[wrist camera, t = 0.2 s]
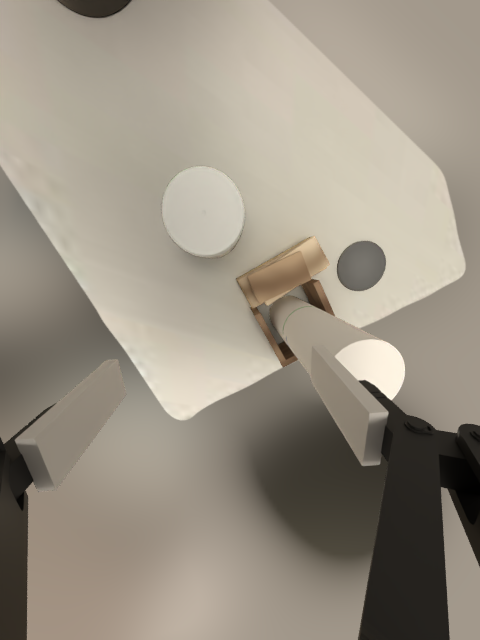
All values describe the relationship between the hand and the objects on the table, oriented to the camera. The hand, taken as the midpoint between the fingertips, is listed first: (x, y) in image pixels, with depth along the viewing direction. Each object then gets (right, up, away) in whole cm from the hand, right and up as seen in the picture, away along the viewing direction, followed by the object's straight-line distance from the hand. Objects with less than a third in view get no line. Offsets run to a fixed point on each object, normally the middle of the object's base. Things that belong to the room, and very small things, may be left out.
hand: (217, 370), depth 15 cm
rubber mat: (+24, +13, +27) cm, 38 cm away
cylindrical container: (+11, +5, +28) cm, 31 cm away
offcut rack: (+11, +8, +27) cm, 31 cm away
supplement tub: (-3, +19, +24) cm, 31 cm away
